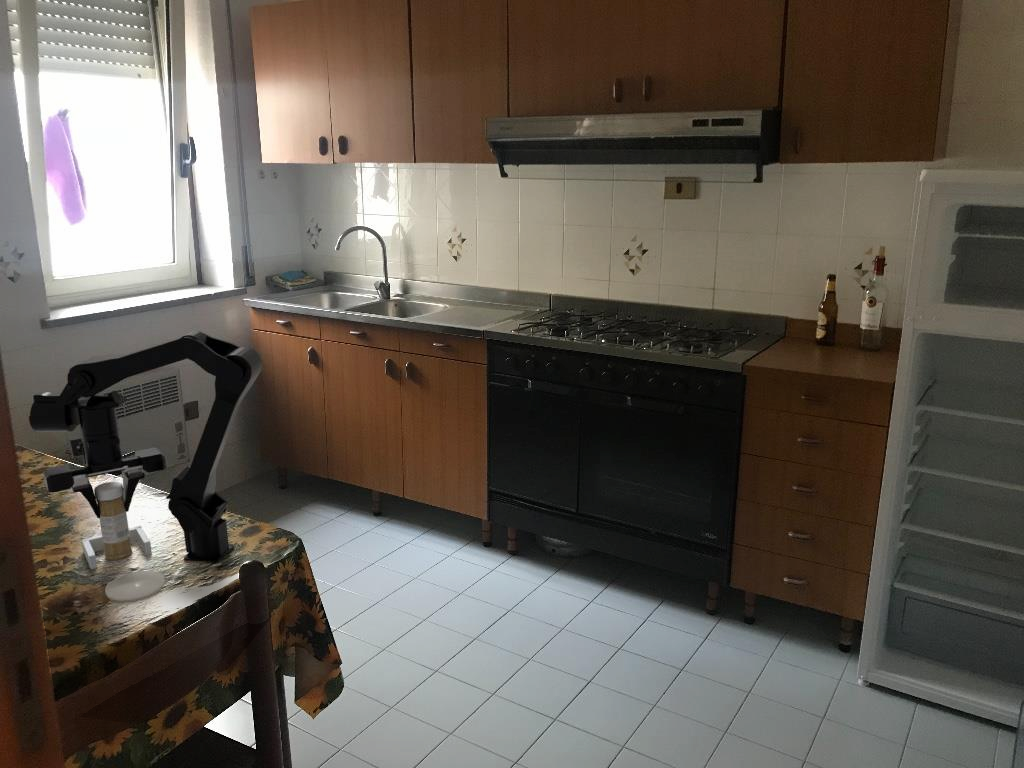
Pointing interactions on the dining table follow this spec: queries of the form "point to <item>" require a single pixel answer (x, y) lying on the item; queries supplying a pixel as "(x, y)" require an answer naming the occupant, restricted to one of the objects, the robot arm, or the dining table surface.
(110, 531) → the sprinkles bottle
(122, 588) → the coaster
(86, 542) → the grey archway
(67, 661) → the dining table surface
